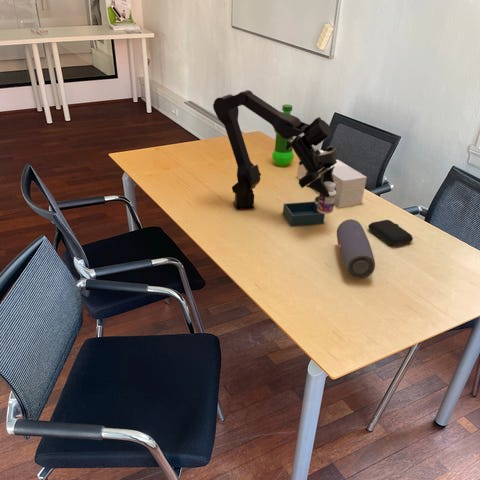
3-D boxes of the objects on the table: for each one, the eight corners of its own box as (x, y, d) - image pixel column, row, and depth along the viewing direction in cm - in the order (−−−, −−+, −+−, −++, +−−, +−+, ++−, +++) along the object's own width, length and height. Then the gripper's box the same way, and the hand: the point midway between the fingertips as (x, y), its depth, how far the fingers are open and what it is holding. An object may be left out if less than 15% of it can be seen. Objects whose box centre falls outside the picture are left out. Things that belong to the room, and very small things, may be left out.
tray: (291, 226, 166) (292, 216, 163) (282, 213, 173) (283, 203, 171) (323, 223, 168) (325, 213, 166) (313, 211, 176) (314, 201, 173)
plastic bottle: (266, 164, 212) (270, 106, 196) (278, 158, 219) (283, 101, 203) (285, 169, 208) (291, 110, 192) (297, 163, 214) (303, 105, 199)
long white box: (296, 177, 201) (299, 152, 194) (317, 174, 205) (321, 149, 198) (338, 207, 179) (343, 180, 172) (361, 203, 182) (367, 177, 176)
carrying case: (416, 243, 159) (389, 224, 169) (419, 235, 157) (391, 216, 167) (391, 248, 155) (365, 229, 166) (393, 240, 153) (366, 221, 164)
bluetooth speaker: (332, 244, 156) (337, 217, 150) (359, 245, 156) (365, 218, 150) (341, 282, 139) (347, 253, 132) (372, 283, 139) (380, 254, 132)
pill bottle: (315, 207, 162) (319, 180, 156) (330, 207, 163) (335, 180, 157) (319, 214, 158) (323, 187, 152) (334, 214, 159) (339, 187, 153)
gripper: (313, 147, 141) (340, 191, 144) (336, 132, 154) (361, 172, 157) (287, 166, 149) (313, 208, 152) (311, 150, 162) (335, 189, 165)
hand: (331, 193), depth 156 cm, fingers closed on pill bottle, 5 cm apart
